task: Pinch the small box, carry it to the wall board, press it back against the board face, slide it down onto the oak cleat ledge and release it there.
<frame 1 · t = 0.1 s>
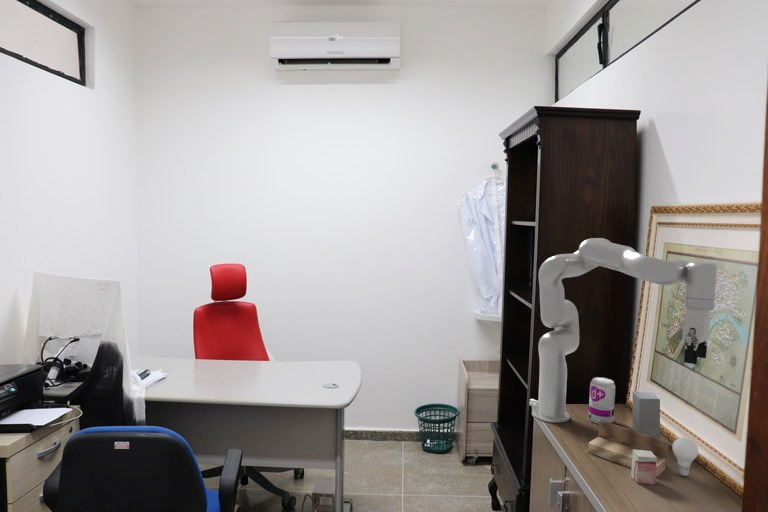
hand: (695, 360, 152), 31 cm above the cabinet, fingers open, 9 cm apart
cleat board: (629, 456, 156), on the cabinet
lightbulb: (683, 476, 145), on the cabinet
supplement can: (600, 421, 184), on the cabinet
small box: (642, 481, 142), on the cabinet
skincare box: (644, 442, 167), on the cabinet
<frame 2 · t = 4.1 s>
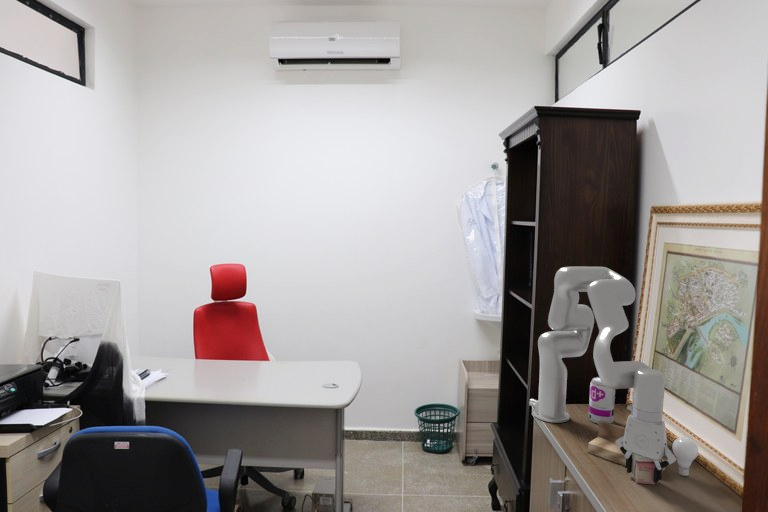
hand: (643, 475, 142), 1 cm above the cabinet, fingers closed on small box, 6 cm apart
small box: (642, 481, 142), on the cabinet, touching gripper
everything else where it was.
when the fingers open (5 cm above the cabinet, at t = 8.8 s): small box drops 1 cm, resting on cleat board.
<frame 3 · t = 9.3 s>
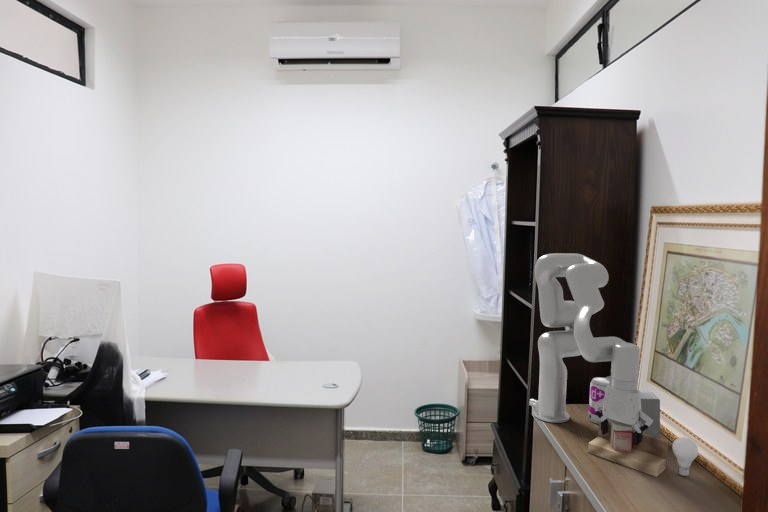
hand: (620, 438, 155), 6 cm above the cabinet, fingers open, 9 cm apart
small box: (620, 449, 155), point 3 cm above the cabinet, touching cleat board
everything else where it was.
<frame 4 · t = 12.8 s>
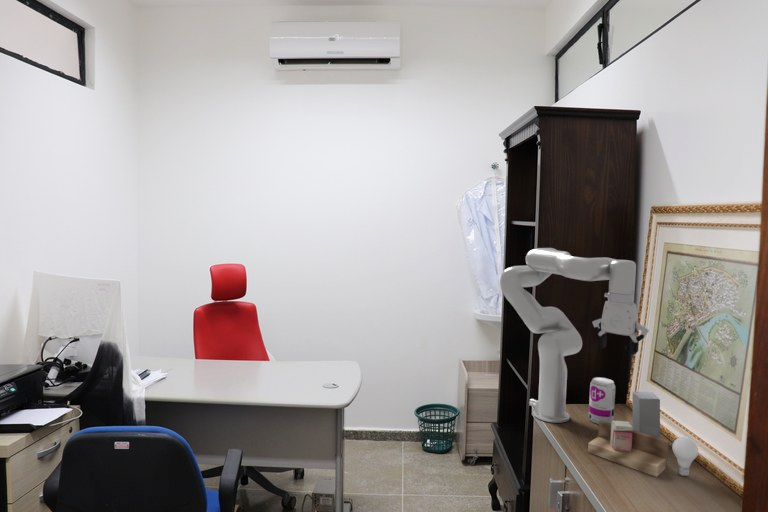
hand: (618, 350, 164), 30 cm above the cabinet, fingers open, 9 cm apart
nothing on the cabinet moved.
at the end: small box inside the target area on the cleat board (1.7 cm from its centre), point 2.8 cm above the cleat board's base; small box tilted 0°; the gripper is holding nothing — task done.
